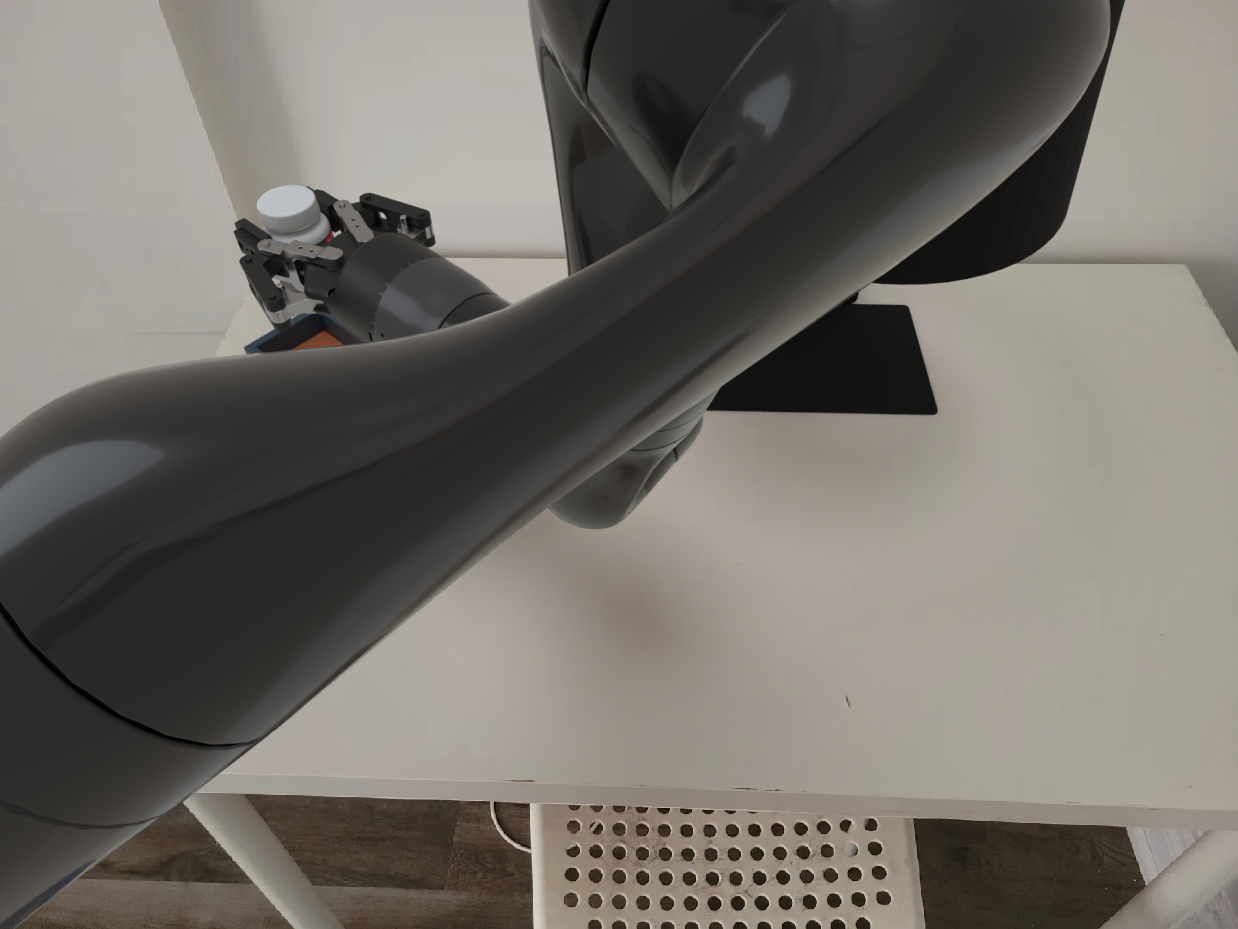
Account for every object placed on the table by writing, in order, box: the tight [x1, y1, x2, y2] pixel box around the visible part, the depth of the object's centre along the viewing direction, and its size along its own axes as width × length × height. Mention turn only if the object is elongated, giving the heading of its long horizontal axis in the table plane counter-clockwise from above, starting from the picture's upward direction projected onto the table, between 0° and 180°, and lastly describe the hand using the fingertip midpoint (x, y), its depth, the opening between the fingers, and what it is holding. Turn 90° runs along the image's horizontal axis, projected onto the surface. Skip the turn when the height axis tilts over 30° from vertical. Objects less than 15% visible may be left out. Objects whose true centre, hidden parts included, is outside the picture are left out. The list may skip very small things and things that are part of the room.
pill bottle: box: [256, 184, 335, 314], centre depth 64 cm, size 5×5×8 cm
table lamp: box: [706, 0, 1126, 416], centre depth 61 cm, size 26×28×40 cm
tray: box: [243, 313, 363, 354], centre depth 78 cm, size 8×8×3 cm
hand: (274, 215), depth 64 cm, fingers closed on pill bottle, 4 cm apart
